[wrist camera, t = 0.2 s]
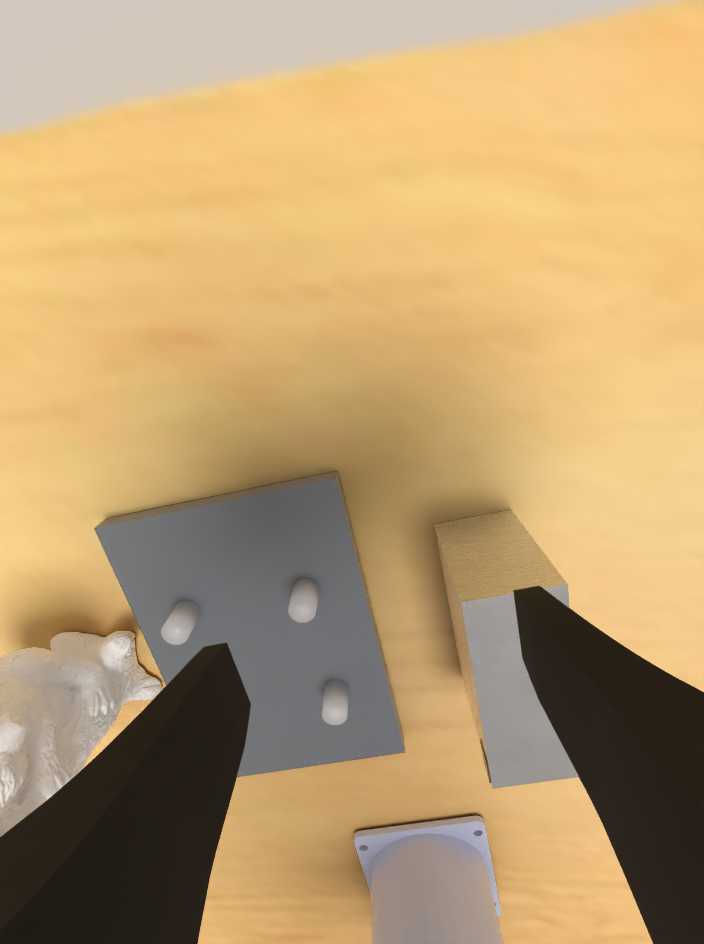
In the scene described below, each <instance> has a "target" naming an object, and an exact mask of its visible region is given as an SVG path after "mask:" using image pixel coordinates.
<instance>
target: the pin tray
mask: <svg viewBox="0 0 704 944" xmlns="http://www.w3.org/2000/svg"><path fill="white" fill-rule="evenodd" d="M94 529H95V531H96V534H97V536H98V538H99V540H100V542H101V544H102V547H103V549H104V551H105V553H106V555H107V557H108V560H109V562H110V564H111V566H112V568H113V570H114V573H115V575H116V577H117V579H118V581H119V583H120V586H121V588H122V590H123V592H124V594H125V596H126V599H127V601H128V603H129V605H130V607H131V609H132V612H133V614H134V616H135V618H136V620H137V622H138V625H139V627H140V629H141V631H142V633H143V635H144V638H145V640H146V642H147V644H148V646H149V648H150V651H151V653H152V655H153V657H154V659H155V661H156V664H157V666H158V668H159V670H160V672H161V674H162V677H163V679H164V681H165V683H166V685H168V684H169V682H170V681H171V680H172V679H173V678H174V677H175V676H176V675H177V674H178V673H179V672H180V671H181V670H182V669H183V667H184V666H185V665H186V664H187V663H188V662H189V661H190V660H191V659H192V658H193V657H194V656H195V655H196V654H197V653H198V652H199V651H200V650H201V649H202V648H203V647H205V646H210V645H216V644H221V643H227V644H228V647H229V649H230V652H231V654H232V657H233V659H234V662H235V665H236V667H237V670H238V672H239V675H240V677H241V680H242V682H243V685H244V687H245V690H246V692H247V695H248V698H249V700H250V703H251V708H250V716H249V723H248V730H247V736H246V742H245V748H244V751H243V755H242V759H241V763H240V767H239V770H238V774H237V777H240V776H247V775H254V774H261V773H268V772H274V771H281V770H288V769H295V768H302V767H309V766H315V765H322V764H329V763H336V762H343V761H350V760H356V759H363V758H370V757H377V756H384V755H391V754H397V753H404V752H405V746H404V736H403V732H402V728H401V724H400V720H399V716H398V712H397V708H396V704H395V700H394V696H393V692H392V688H391V684H390V680H389V676H388V672H387V668H386V664H385V660H384V656H383V652H382V648H381V644H380V640H379V636H378V632H377V628H376V624H375V620H374V616H373V612H372V608H371V604H370V600H369V596H368V592H367V588H366V584H365V580H364V576H363V572H362V568H361V564H360V560H359V556H358V552H357V548H356V544H355V540H354V536H353V532H352V528H351V524H350V520H349V516H348V512H347V508H346V504H345V500H344V496H343V492H342V488H341V484H340V480H339V476H338V472H337V471H334V472H329V473H324V474H319V475H315V476H310V477H305V478H300V479H295V480H290V481H286V482H281V483H276V484H271V485H266V486H261V487H257V488H252V489H247V490H242V491H237V492H232V493H228V494H223V495H218V496H213V497H208V498H203V499H199V500H194V501H189V502H184V503H179V504H174V505H170V506H165V507H160V508H155V509H150V510H145V511H140V512H136V513H131V514H126V515H121V516H116V517H111V518H107V519H105V520H104V521H103V522H101V523H100V524H99V525H98V526H96V527H95V528H94Z"/></svg>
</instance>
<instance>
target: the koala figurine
mask: <svg viewBox="0 0 704 944" xmlns="http://www.w3.org/2000/svg"><path fill="white" fill-rule="evenodd" d="M135 637H136V635H135V634H134V633H133V632H132V631H115V632H113V633H112V634H110V635H108V636H107V637H101V636H99V635H95V634H90V633H88V634H87V633H80V632H62V633H61V634H57V635H56V636H54V637H53V638H52V639H51V640H50V648H51V651H49V650H47V649H44V648H36V647H32V648H25V649H21V650H15V651H13V652H12V653H9V654H7V655H5V656H3V657H0V837H1V836H2V835H3V834H5V833H6V832H7V831H9V830H10V829H11V828H12V827H14V826H15V825H16V824H17V823H19V822H20V821H21V820H22V819H24V818H25V817H26V816H28V815H29V814H30V813H31V812H33V811H34V810H35V809H36V808H38V807H39V806H40V805H42V804H43V803H44V802H45V801H46V800H48V799H49V798H50V797H51V796H52V795H54V794H55V793H56V792H57V791H58V790H59V789H61V788H62V787H63V786H64V785H65V784H66V783H68V782H69V781H70V780H71V779H72V778H73V777H74V776H76V775H77V774H78V773H79V772H80V771H81V770H82V768H83V766H84V765H85V763H86V761H87V759H88V757H89V755H90V753H91V752H92V750H93V749H94V748H95V746H96V745H97V744H98V743H99V742H100V741H101V740H102V739H103V738H104V736H105V735H106V733H107V732H108V730H109V729H110V728H111V727H112V726H113V723H114V721H115V720H116V716H117V714H118V712H119V710H120V709H121V707H122V705H123V704H124V703H126V702H128V701H136V700H151V699H153V698H155V697H156V695H157V694H158V693H159V692H160V691H161V688H162V686H161V683H160V681H159V680H158V679H157V678H155V677H152V676H150V675H148V674H147V673H146V672H145V670H144V669H143V668H142V667H141V666H140V665H139V664H138V661H137V656H136V651H135V641H134V638H135Z"/></svg>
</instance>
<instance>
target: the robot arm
mask: <svg viewBox="0 0 704 944" xmlns="http://www.w3.org/2000/svg"><path fill="white" fill-rule="evenodd" d="M513 593H514V600H515V608H516V615H517V622H518V630H519V637H520V645H521V652H522V659H523V661H524V664H525V667H526V669H527V672H528V674H529V677H530V680H531V682H532V685H533V687H534V690H535V692H536V695H537V697H538V699H539V702H540V703H541V705H542V707H543V709H544V711H545V713H546V715H547V717H548V719H549V721H550V723H551V725H552V727H553V728H554V730H555V732H556V734H557V736H558V738H559V740H560V742H561V744H562V746H563V747H564V749H565V751H566V753H567V755H568V757H569V759H570V761H571V763H572V765H573V766H574V768H575V770H576V772H577V774H578V776H579V778H580V780H581V782H582V783H583V785H584V787H585V789H586V791H587V793H588V795H589V797H590V799H591V801H592V803H593V805H594V807H595V809H596V811H597V813H598V815H599V817H600V819H601V821H602V823H603V826H604V828H605V830H606V833H607V835H608V837H609V840H610V842H611V844H612V847H613V849H614V851H615V854H616V856H617V858H618V861H619V863H620V865H621V868H622V870H623V872H624V875H625V877H626V879H627V882H628V884H629V886H630V889H631V891H632V894H633V896H634V898H635V901H636V903H637V906H638V908H639V910H640V913H641V915H642V918H643V920H644V922H645V925H646V927H647V930H648V932H649V934H650V937H651V939H652V942H653V944H704V692H702V691H700V690H698V689H696V688H695V687H693V686H691V685H689V684H687V683H685V682H683V681H681V680H679V679H678V678H676V677H674V676H672V675H670V674H669V673H667V672H665V671H663V670H662V669H660V668H658V667H656V666H655V665H653V664H651V663H650V662H648V661H647V660H645V659H643V658H642V657H640V656H638V655H637V654H635V653H634V652H632V651H630V650H629V649H627V648H626V647H624V646H623V645H621V644H620V643H618V642H617V641H615V640H614V639H612V638H611V637H609V636H608V635H606V634H605V633H604V632H602V631H601V630H599V629H598V628H596V627H595V626H593V625H592V624H591V623H589V622H588V621H586V620H585V619H584V618H582V617H581V616H579V615H578V614H577V613H575V612H574V611H573V610H571V609H570V608H569V607H567V606H566V605H565V604H563V603H562V602H561V601H559V600H558V599H557V598H555V597H554V596H553V595H551V594H550V593H549V592H548V591H546V590H545V589H543V588H542V587H540V586H534V587H529V588H523V589H518V590H513ZM250 708H251V703H250V700H249V698H248V695H247V692H246V690H245V687H244V685H243V682H242V680H241V677H240V675H239V672H238V670H237V667H236V665H235V662H234V659H233V657H232V654H231V652H230V649H229V647H228V644H227V643H221V644H216V645H210V646H205V647H203V648H202V649H201V650H200V651H199V652H198V653H197V654H196V655H195V656H194V657H193V658H192V659H191V660H190V661H189V662H188V663H187V664H186V665H185V666H184V667H183V669H182V670H181V671H180V672H179V673H178V674H177V675H176V676H175V677H174V678H173V679H172V680H171V681H170V682H169V684H168V685H167V686H166V687H165V688H164V689H163V690H162V691H161V692H160V693H159V694H158V695H157V696H156V697H155V698H154V699H153V700H152V702H151V703H150V704H149V705H148V706H147V707H146V708H145V709H144V710H143V711H142V712H141V713H140V714H139V715H138V716H137V717H136V718H135V719H134V720H133V721H132V722H131V723H130V724H129V725H128V726H127V727H126V728H125V729H124V730H123V731H122V732H121V733H120V734H119V735H118V736H117V737H116V738H115V739H114V740H113V741H112V742H111V743H110V744H109V745H108V746H107V747H106V748H105V749H104V750H103V751H102V752H101V753H100V754H99V755H98V756H96V757H95V758H94V759H93V760H92V761H91V762H90V763H89V764H88V765H87V766H86V767H85V768H83V769H82V770H81V771H80V772H79V773H78V774H77V775H76V776H74V777H73V778H72V779H71V780H70V781H69V782H68V783H66V784H65V785H64V786H63V787H62V788H61V789H59V790H58V791H57V792H56V793H55V794H54V795H52V796H51V797H50V798H49V799H48V800H46V801H45V802H44V803H43V804H42V805H40V806H39V807H38V808H36V809H35V810H34V811H33V812H31V813H30V814H29V815H28V816H26V817H25V818H24V819H22V820H21V821H20V822H19V823H17V824H16V825H15V826H14V827H12V828H11V829H10V830H9V831H7V832H6V833H5V834H3V835H2V836H1V837H0V944H197V943H198V937H199V932H200V926H201V921H202V916H203V910H204V905H205V900H206V895H207V889H208V884H209V879H210V874H211V870H212V866H213V862H214V858H215V853H216V850H217V846H218V842H219V839H220V835H221V832H222V828H223V824H224V821H225V817H226V814H227V810H228V806H229V803H230V799H231V796H232V792H233V789H234V785H235V781H236V778H237V774H238V770H239V767H240V763H241V759H242V755H243V751H244V748H245V742H246V736H247V730H248V723H249V716H250ZM354 845H355V848H356V851H357V854H358V857H359V860H360V863H361V866H362V869H363V872H364V875H365V878H366V881H367V884H368V887H369V890H370V893H371V909H372V944H504V943H503V938H502V934H501V929H500V925H499V921H498V917H499V916H500V915H501V908H500V903H499V898H498V892H497V887H496V881H495V876H494V871H493V865H492V860H491V854H490V849H489V844H488V838H487V833H486V827H485V823H484V820H483V818H482V817H480V816H468V817H460V818H452V819H445V820H437V821H430V822H422V823H414V824H407V825H399V826H392V827H384V828H376V829H369V830H361V831H357V832H356V833H355V834H354Z"/></svg>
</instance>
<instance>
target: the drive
mask: <svg viewBox="0 0 704 944" xmlns="http://www.w3.org/2000/svg"><path fill="white" fill-rule="evenodd" d="M434 526H435V531H436V537H437V542H438V548H439V553H440V559H441V564H442V570H443V576H444V581H445V587H446V592H447V598H448V603H449V609H450V614H451V620H452V625H453V631H454V636H455V642H456V647H457V653H458V658H459V664H460V669H461V675H462V679H463V682H464V686H465V690H466V693H467V697H468V700H469V704H470V708H471V711H472V715H473V719H474V722H475V726H476V729H477V733H478V737H479V740H480V744H481V749H482V754H483V760H484V764H485V767H486V771H487V775H488V778H489V782H490V783H491V784H492V788H500V787H507V786H514V785H522V784H529V783H537V782H544V781H552V780H559V779H567V778H574V777H579V776H578V774H577V772H576V770H575V768H574V766H573V765H572V763H571V761H570V759H569V757H568V755H567V753H566V751H565V749H564V747H563V746H562V744H561V742H560V740H559V738H558V736H557V734H556V732H555V730H554V728H553V727H552V725H551V723H550V721H549V719H548V717H547V715H546V713H545V711H544V709H543V707H542V705H541V703H540V702H539V699H538V697H537V695H536V692H535V690H534V687H533V685H532V682H531V680H530V677H529V674H528V672H527V669H526V667H525V664H524V661H523V659H522V652H521V645H520V637H519V630H518V622H517V615H516V608H515V600H514V593H513V590H518V589H523V588H529V587H534V586H540V587H542V588H543V589H545V590H546V591H548V592H549V593H550V594H551V595H553V596H554V597H555V598H557V599H558V600H559V601H561V602H562V603H563V604H565V605H566V606H567V607H569V597H568V584H567V583H566V581H565V580H564V579H563V577H562V576H561V575H560V574H559V572H558V571H557V570H556V568H555V567H554V566H553V564H552V563H551V562H550V560H549V559H548V558H547V556H546V555H545V554H544V552H543V551H542V550H541V548H540V547H539V546H538V545H537V543H536V542H535V541H534V539H533V538H532V537H531V535H530V534H529V533H528V531H527V530H526V529H525V527H524V526H523V525H522V523H521V522H520V521H519V519H518V518H517V517H516V516H515V514H514V513H513V512H512V510H506V511H500V512H495V513H490V514H485V515H479V516H474V517H469V518H464V519H459V520H453V521H448V522H443V523H438V524H434Z"/></svg>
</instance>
